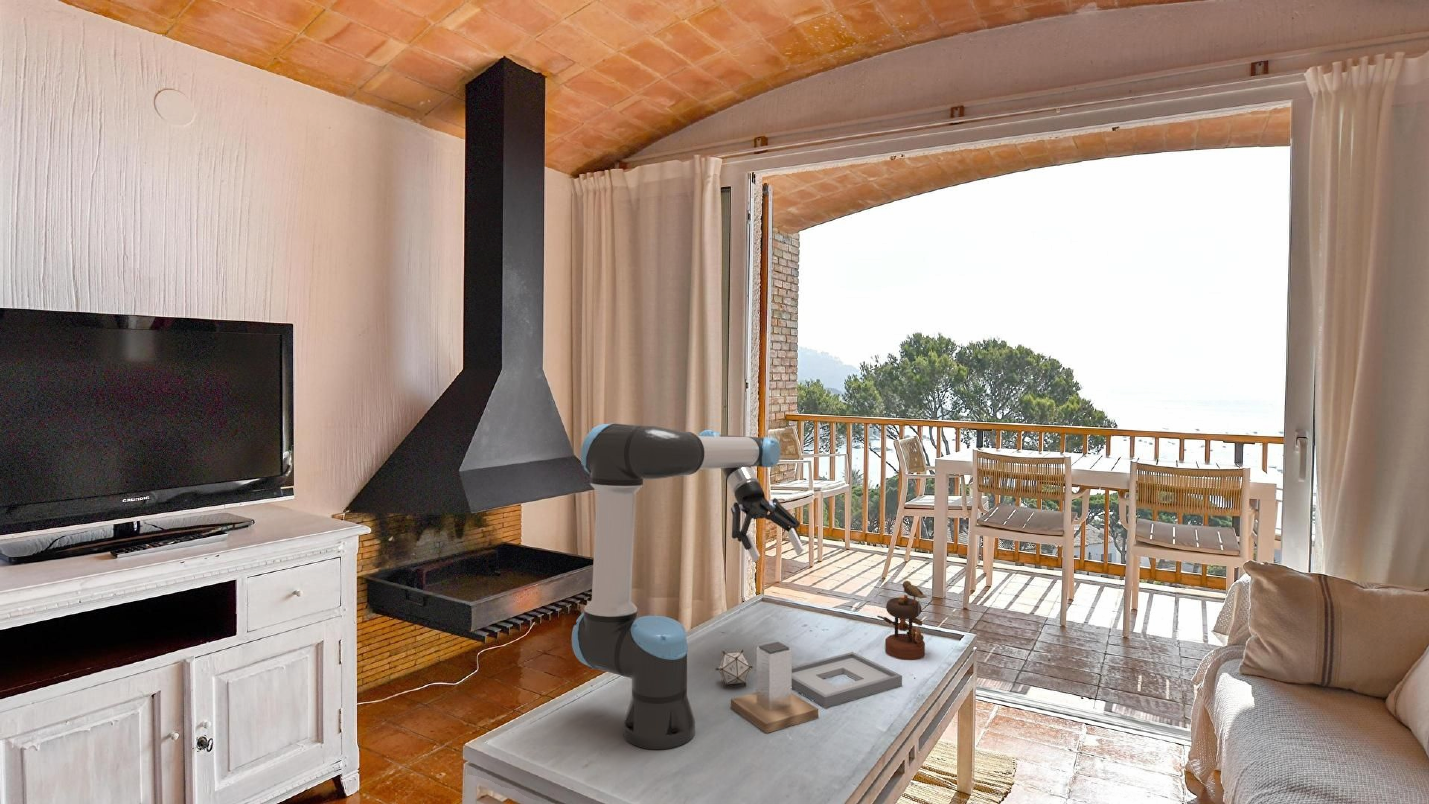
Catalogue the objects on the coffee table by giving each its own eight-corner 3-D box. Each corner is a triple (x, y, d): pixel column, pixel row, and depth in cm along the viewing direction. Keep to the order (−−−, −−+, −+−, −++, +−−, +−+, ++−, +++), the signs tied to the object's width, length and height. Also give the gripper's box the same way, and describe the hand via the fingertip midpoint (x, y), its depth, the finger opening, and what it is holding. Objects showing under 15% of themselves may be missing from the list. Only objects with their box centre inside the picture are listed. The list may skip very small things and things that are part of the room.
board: (766, 733, 159) (766, 724, 159) (730, 707, 171) (730, 699, 171) (818, 717, 166) (818, 708, 166) (780, 694, 178) (780, 686, 178)
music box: (938, 654, 204) (936, 582, 202) (916, 668, 197) (914, 594, 195) (890, 639, 215) (888, 571, 213) (867, 652, 208) (865, 581, 206)
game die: (738, 702, 183) (744, 679, 176) (708, 685, 185) (712, 662, 179) (754, 673, 189) (760, 650, 183) (724, 657, 192) (729, 634, 185)
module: (769, 711, 165) (769, 652, 164) (756, 702, 169) (756, 645, 169) (791, 705, 168) (791, 647, 168) (778, 696, 172) (778, 640, 172)
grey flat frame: (825, 708, 171) (825, 697, 171) (778, 680, 187) (778, 670, 186) (901, 685, 184) (902, 675, 183) (852, 661, 199) (852, 651, 199)
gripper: (778, 492, 211) (811, 557, 199) (701, 501, 198) (731, 570, 186) (789, 476, 206) (824, 541, 194) (711, 483, 193) (743, 553, 181)
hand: (779, 555), depth 190 cm, fingers open, 13 cm apart
